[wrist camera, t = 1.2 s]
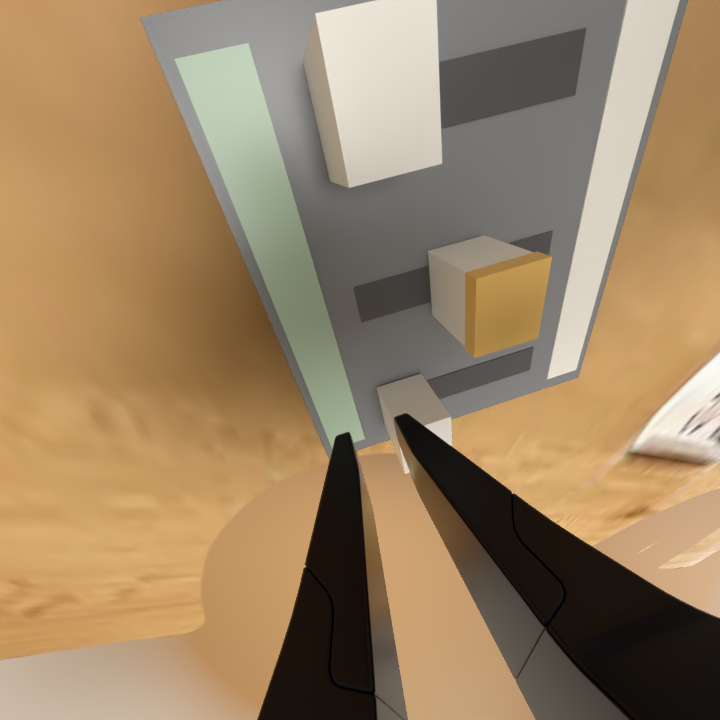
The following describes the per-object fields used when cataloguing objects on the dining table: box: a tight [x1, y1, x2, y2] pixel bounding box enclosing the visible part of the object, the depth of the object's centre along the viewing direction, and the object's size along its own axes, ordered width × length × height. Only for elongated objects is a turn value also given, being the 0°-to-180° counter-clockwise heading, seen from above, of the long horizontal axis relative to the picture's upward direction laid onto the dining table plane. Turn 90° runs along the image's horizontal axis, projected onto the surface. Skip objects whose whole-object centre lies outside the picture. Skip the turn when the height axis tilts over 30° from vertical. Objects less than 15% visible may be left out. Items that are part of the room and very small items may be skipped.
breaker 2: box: [376, 374, 452, 474], centre depth 18 cm, size 3×4×4 cm
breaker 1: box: [303, 0, 442, 188], centre depth 10 cm, size 3×4×4 cm
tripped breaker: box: [428, 235, 552, 358], centre depth 14 cm, size 3×4×4 cm
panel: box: [140, 0, 688, 459], centre depth 17 cm, size 20×22×2 cm
